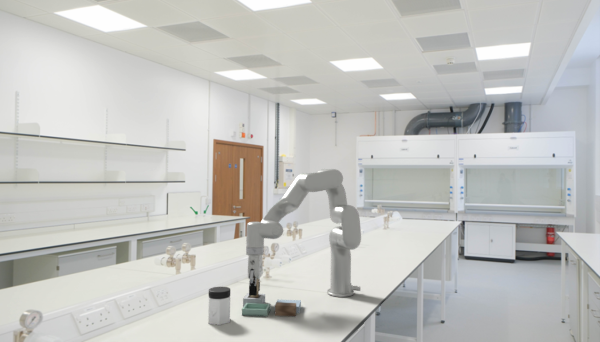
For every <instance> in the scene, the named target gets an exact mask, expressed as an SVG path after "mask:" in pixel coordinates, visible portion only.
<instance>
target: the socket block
mask: <svg viewBox="0 0 600 342" xmlns="http://www.w3.org/2000/svg"><path fill="white" fill-rule="evenodd" d="M246 303H260V304H266V293H259V295H258V298H250V295H249V292H248V293H246V294H245V296H244V297H243V298H242V308H243V307H244V306H245V304H246Z"/></svg>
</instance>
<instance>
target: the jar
mask: <svg viewBox="0 0 600 342" xmlns="http://www.w3.org/2000/svg"><path fill="white" fill-rule="evenodd" d="M207 321H208V322H207V323H208V324H210V325H215V324H217V326H221V324H222V325H225V323H226V324H229V323H230V322H231V288H230V287H228V286H214V287H211V288H209V289H208V319H207Z"/></svg>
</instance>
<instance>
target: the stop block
mask: <svg viewBox="0 0 600 342" xmlns="http://www.w3.org/2000/svg"><path fill="white" fill-rule="evenodd" d="M276 302H277V301H276ZM276 302H275V304H276V305H275V304H274V306H275V312H274V316H276V317H279V316H280V317H281V316H282V317H296V316H297V313H296V303H281V302H277V303H276Z"/></svg>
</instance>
